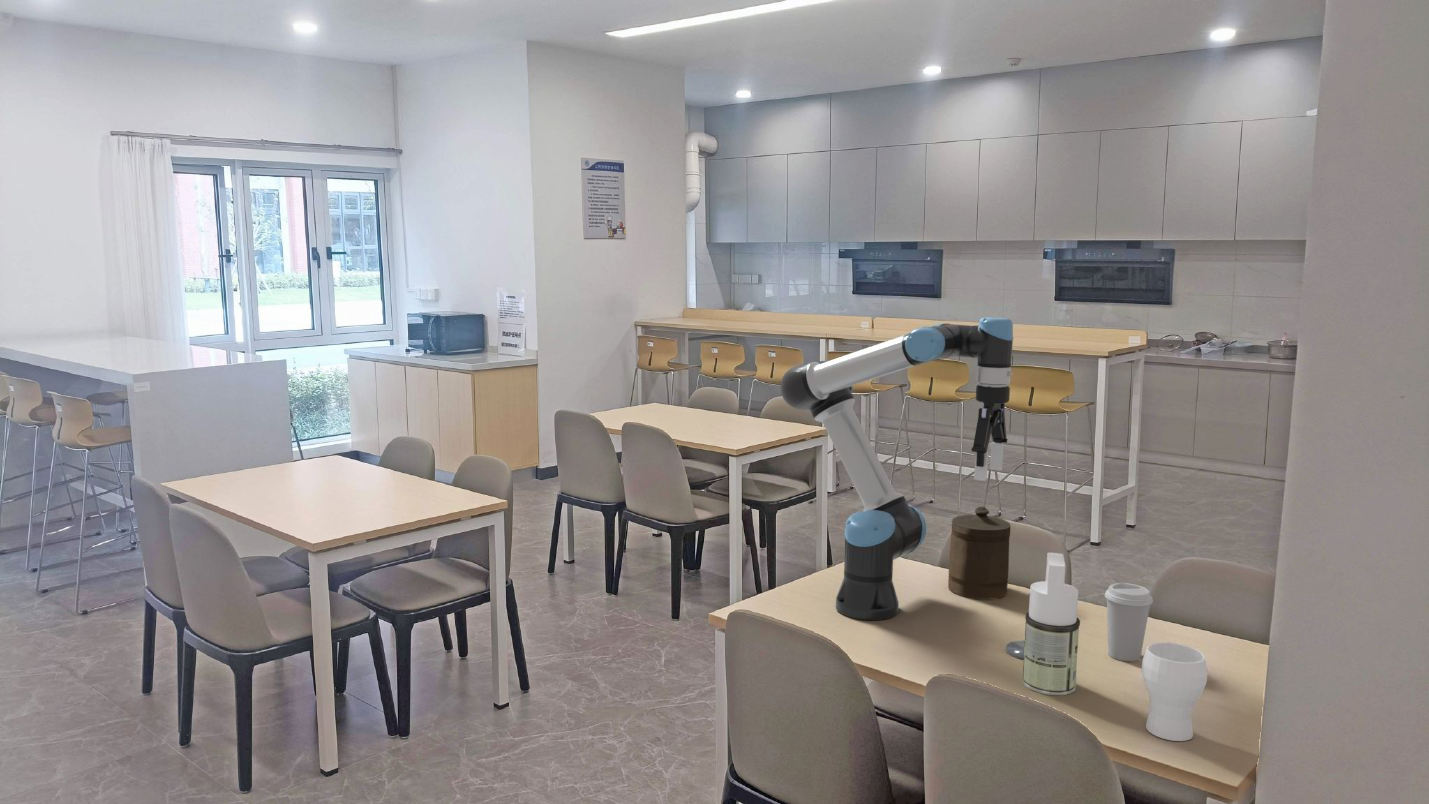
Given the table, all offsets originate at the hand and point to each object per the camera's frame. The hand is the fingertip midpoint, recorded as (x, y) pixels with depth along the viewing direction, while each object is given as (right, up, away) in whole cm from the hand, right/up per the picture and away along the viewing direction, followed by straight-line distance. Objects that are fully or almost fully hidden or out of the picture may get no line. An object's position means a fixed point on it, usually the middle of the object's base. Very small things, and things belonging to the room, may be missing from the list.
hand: (988, 474), depth 228 cm
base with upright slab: (+3, -26, -34) cm, 43 cm away
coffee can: (+3, -40, -32) cm, 51 cm away
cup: (+18, -43, -51) cm, 69 cm away
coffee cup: (+25, -38, -17) cm, 48 cm away
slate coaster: (+5, -37, -16) cm, 41 cm away
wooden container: (+4, -32, +24) cm, 40 cm away
